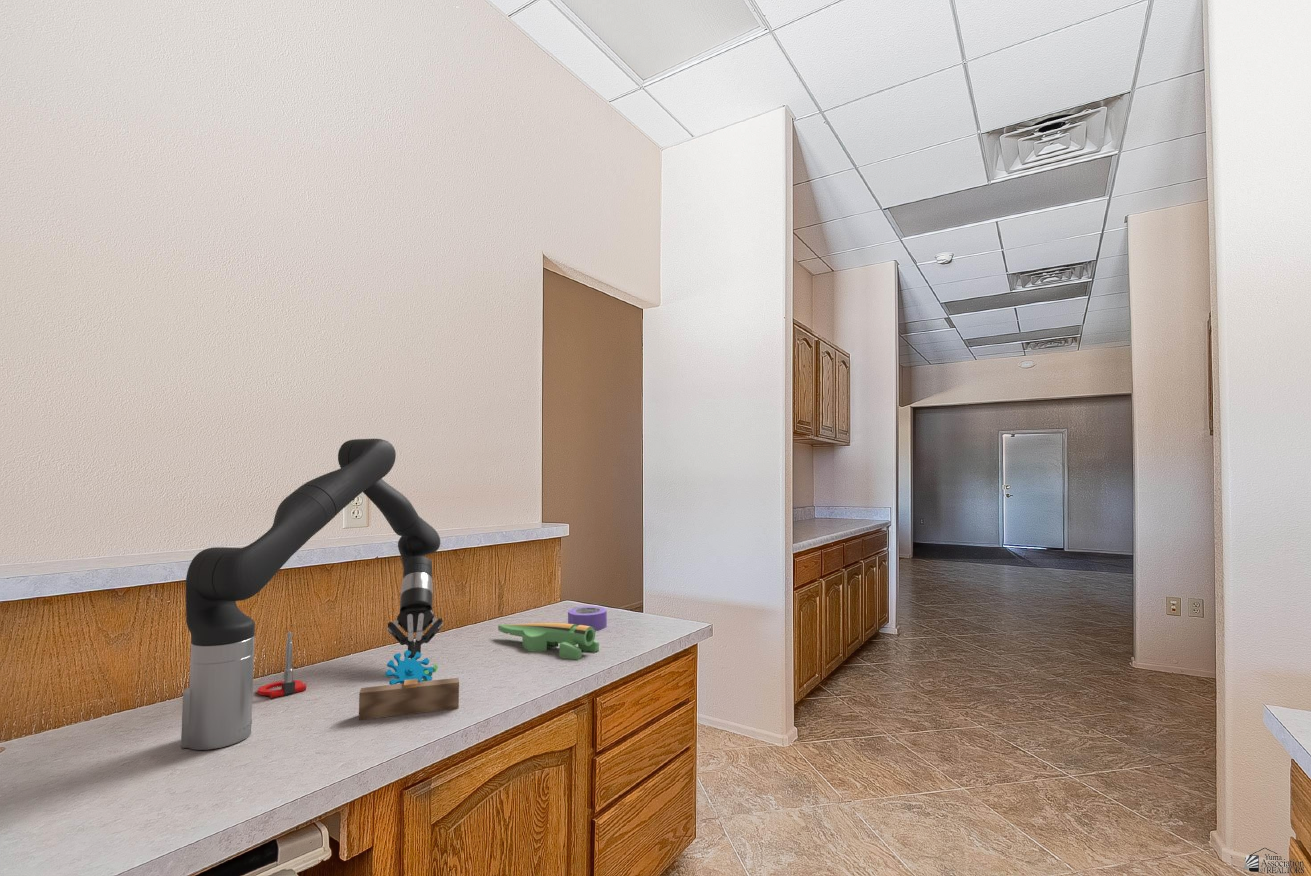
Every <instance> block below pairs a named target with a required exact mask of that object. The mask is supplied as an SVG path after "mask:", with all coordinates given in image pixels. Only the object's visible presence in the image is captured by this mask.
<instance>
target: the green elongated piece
mask: <svg viewBox="0 0 1311 876" xmlns="http://www.w3.org/2000/svg"><path fill="white" fill-rule="evenodd" d="M497 631H499V632H500V633H503V634H506V635H508V634H509V635H510V636H515V637H516V636H517V637H522V638H521V639H522V640H521V642H522V643H521V644H522V645H521V646H522V647H523V648H524V649H525V650H526V651H528V652H543V651H545V652H546V651H547V650H548V649H547V648H548V645H551V646H557V647H558V646H559V650H558V651H559V652H558V653H559V654H558V655H559V658H562V657H563V659H569V660H580V659H582V651H585V652H592V653H593V652H594V653H597V652H599V651H600V643H599V641H598V640H596V631H595V630H594V628H593V627H591V626H585V625H576V624H568V623H564V622H563V623H562V622H542V623H541V622H538V623H537V622H535V623H532V622H530V623H510V624H498V625H497Z"/></svg>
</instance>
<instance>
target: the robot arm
mask: <svg viewBox="0 0 1311 876" xmlns="http://www.w3.org/2000/svg"><path fill="white" fill-rule="evenodd" d="M396 452H397V451H396V449H395V447H394V445H393V444H392V443H391V442H389V441H388V440H386V439H381V438H357V439H350V440H347V441H345V442H343V443H342V444H341V445H340V447H339V449H338V453H337V460H338V461H337V462H338V465H339V467H340V468H338V469H335V470H333V471H329V472H328V473H324V474H322V475H320V476H316V477H315V478H312V479H311V480H309V481H306V482H305V483H303V484H302V485H300V486H299V487H298V488H297V489H295V490H294V491H292V492H291V493H290V494H289V495H287V496H286V497H285V498H284V499H283V500H282V501H281V502H280V503H279V505H278V507H277V509H276V511H275V514H274V518H273V523H272V526H271V527H270V528H269V529H268V530H267V531H266V532H265V533H264V534H262V535H261V536H260V537H258V538H257V539H256V540H255V541H253V542H251V543H250V544H248V545H246V546H243V547H225V546H223V547H222V546H218V547H217V546H215V547H209V548H205V549H203V550H200V552H198V553H197V554H196V555H195V556H194V557H193V558H192V559H191V562H190V564H189V566H188V568H187V572H186V576H185V621H186V626H187V629H188V630H189V633H190V638H191V639H190V662H189V666H190V667H189V668H190V669H189V686H188V687H187V688H184V690H183V692H182V707H181V708H182V712H181V713H182V715H181V734H180V748H181V749H183V748H186V749H187V748H188V749H190V750H197V751H204V750H205V751H206V750H216V749H219V748H220V749H221V748H224V747H229V746H232V745H234V744H237V743H240V742H242V741H243V740H245V739H247V738H248V737H249V736H250V735H251V733H252V723H253V717H252V716H253V693H254V692H253V691H254V689H253V688H254V668H255V667H254V663H255V638H256V637H255V635H256V624H255V620H254V619H253V618H252V617H250V616H248V615H247V614H245V613H244V612H242V611H241V610H240V608H239V607H238V605H237V602H240V601H241V602H242V601H245V600H248V599H251V598H252V597H254V596H255V595H257V594H258V593H259V592H260V591H261V590H262V589H264V588H265V587H266V585H268V584H269V582H270V581H271V580H272V579H273V578H274V576H275V575H277V573H278V572H279V571H280V570H281V569H282V567H284V565H285V564H286V563H287V562H288V561H289V560H290V559H291V557H293V555H294V554H295V553H297V552H298V551H299V550H300V549H301V548H302V547H303V546H304V545H305V544H307V542H308V541H309V540H310V539H311V538H313V536H315V535H316V534H317V533H318V532H319V531H321V530H322V529H323V528H324V527H325V526H326V525H328V523H330V522H331V521H332V520H334V518H335V517H336V516H337V515H339V514H340V512H341V511H342V510H344V509H345V507H347V506H348V505H349V504H351V503H352V501H354V500H355V499H356V498H358V496H360V494H362V493H363V494H364V495H365V496H366V497H367V498H368V499H369V500H370V501H371V502H372V503H373V504H374V505H375V506H376V508H378V510H379V511H380V512H381V514H382V515H383V516H384V518H385V520H386V521H387V523H388V524H389V526H390V528H391V529H392V530H393V532H394V533H395V534H396V535H397V536H400V538H399V539H398V542H397V548H398V552H399V555H400V558H401V561H402V566H403V567H402V569H403V572H402V573H403V574H402V583H401V587H400V599H399V600H400V602H399V603H400V604H399V613H398V615H397V616H396V620H394V621H393V622H392V621H389V622H388V623H387V632H389V634H391V636H392V637H393V638H394V639H395V640H396V641H397V642H398V643H399V644H400V645H401V646H407V650H408V651H411V654H410V656H409V657H408V659H412V658H413V657H414V656H415V654H416V652H419V653H421V649H422V645H423V644H428V643H429V642H430V641H431V640H432V639H433V638H434V637H435V636H436V634H437V633H439V631H440V630H441V628H443V621H444V620H443V618H437V617H436V616H435V614H434V612H433V603H434V602H433V599H434V597H433V595H434V590H433V589H434V585H433V563H432V559H430V558H429V557H427V556H428V555H432V554H434V553H436V552H437V551H438V550H439V548H440V547H441V538H440V537H441V536H440V535H439V533H438V532H437V530H436V529H435V528H434V527H433V526H432V525H430V524H429V523H428V522H427V521H425V520H424V518H422V517H420V515H419V514H418V512H417V510H416V509H415V508H414V506H413V504H412V503H411V501H410V500H409V499H408V497H406V496H405V495H404V494H403V493H402V492H400V491H398V490H397V489H396V488H394V487H393V486H391V484H389V483H387V482H386V481H384V479H383V478H384V477H386V476H387V475H388V474H389V472H390V471H391V470H392V469H393V467H394V465H395V462H396V457H397V454H396ZM430 625H431V627H430V628H428V627H429V626H430ZM399 626H400V628H401V629H402V630H403V631H404V632H405V633H407V636H406V635H405V634H404V633H403V632H402V630H400V628H399ZM424 631H426V632H425V633H423V632H424ZM414 633H415V634H416V636H415V639H414ZM421 654H422V653H421ZM415 660H416V661H418V659H415Z"/></svg>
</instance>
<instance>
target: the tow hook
mask: <svg viewBox="0 0 1311 876" xmlns="http://www.w3.org/2000/svg"><path fill="white" fill-rule="evenodd" d="M286 635H287V636H286V637H287V638H286V642H285V666H284V667H285V668H284V670H283V671H284V672H283V673H284V674H283V680H280V681H275V682H270V683H267V684H264V685H261V686H259V687H258V688H257V689H256V690H257V691H256V692H257V694H258V695H260V696H268V697H269V698H270V699H271V698H272V699H275V697H276V698H279V696H280V697H286V696H289V694H290V695H293V693H294V694H295V693H299V692H303V691H304V690H305V691H306V690H307V684H306V683H304V682H303V681H302V680H298V679H293V677H294V668H293V641H292V631H287V633H286ZM277 686H278V687H281V688H280V689H273V687H274V688H277ZM270 688H271V689H270ZM305 691H304V692H305ZM285 695H286V696H285Z"/></svg>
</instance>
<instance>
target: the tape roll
mask: <svg viewBox="0 0 1311 876" xmlns="http://www.w3.org/2000/svg"><path fill="white" fill-rule="evenodd" d="M607 613H608V612H607V608H605V607H602V606H594V605H588V606H587V605H585V606H576V607H573V608H570V609H569V610H568V611H567V624H576V625H585V626H591V627H593V628H594V630H595V632H597V631H600V630H603V629H605V628H607V626H608V625H607V623H608V620H607V618H608V615H607Z"/></svg>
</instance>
